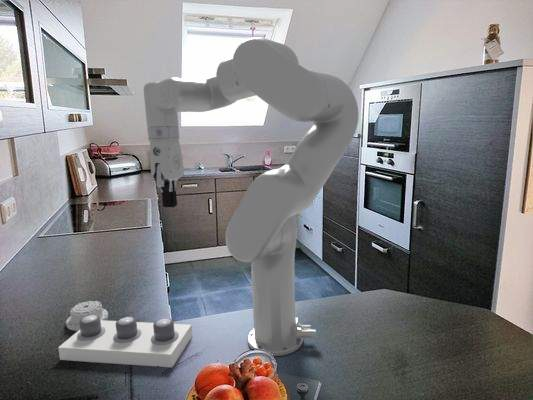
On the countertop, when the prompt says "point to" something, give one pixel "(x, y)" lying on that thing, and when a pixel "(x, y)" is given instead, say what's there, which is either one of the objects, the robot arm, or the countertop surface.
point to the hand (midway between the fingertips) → (170, 206)
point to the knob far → (90, 326)
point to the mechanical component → (85, 313)
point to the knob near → (164, 329)
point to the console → (127, 346)
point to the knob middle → (126, 328)
